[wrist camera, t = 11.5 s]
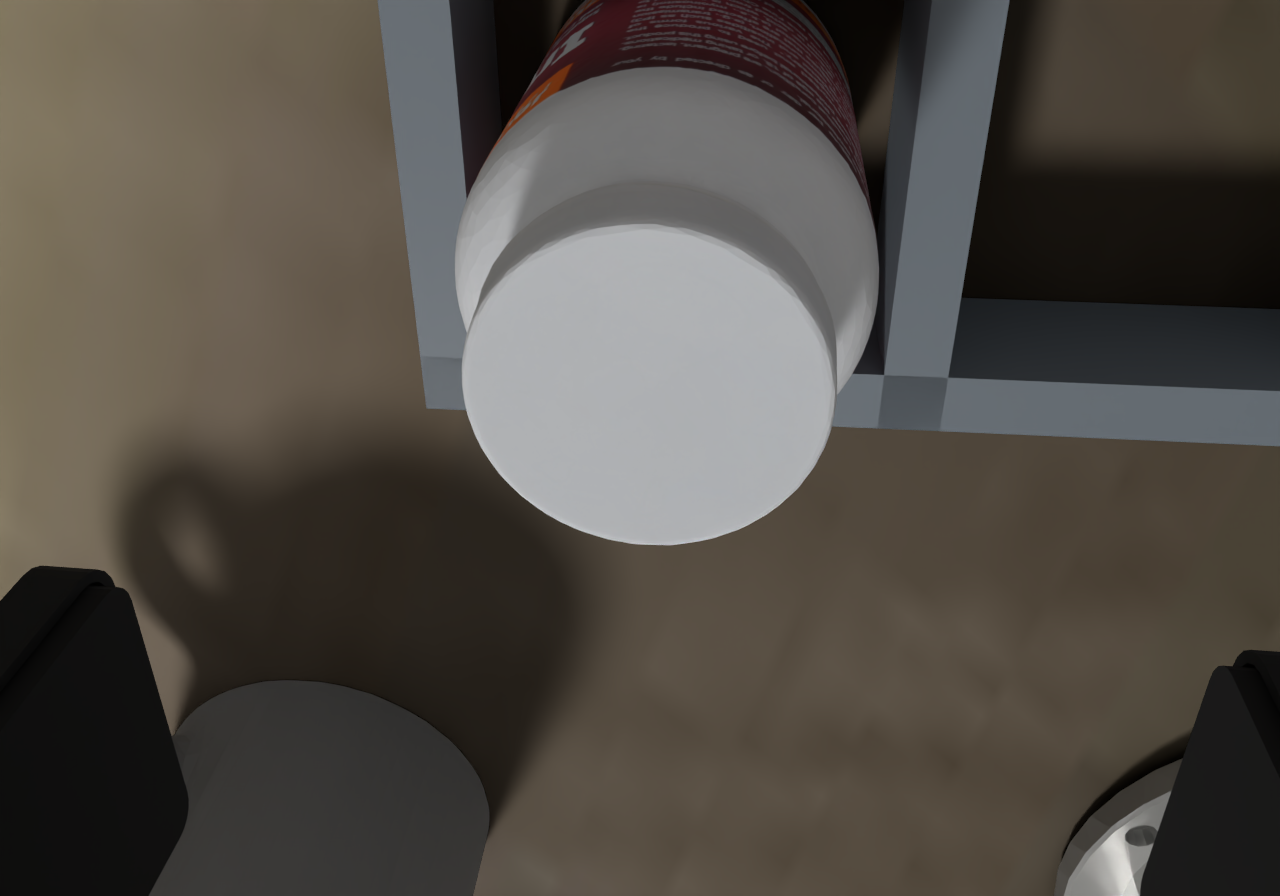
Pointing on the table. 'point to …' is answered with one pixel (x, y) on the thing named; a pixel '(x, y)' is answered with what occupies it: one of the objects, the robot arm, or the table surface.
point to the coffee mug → (322, 798)
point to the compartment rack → (907, 253)
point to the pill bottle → (668, 268)
